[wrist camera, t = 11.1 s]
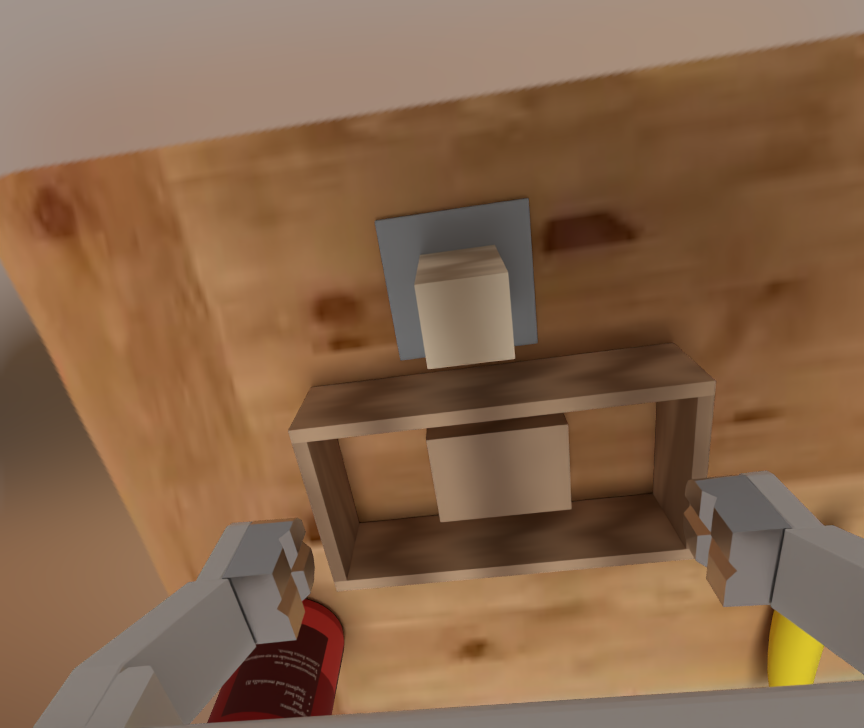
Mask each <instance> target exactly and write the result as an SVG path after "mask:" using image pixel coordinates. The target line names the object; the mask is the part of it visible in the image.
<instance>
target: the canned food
mask: <svg viewBox="0 0 864 728" xmlns="http://www.w3.org/2000/svg"><path fill="white" fill-rule="evenodd" d="M302 603H303V606H304V609H305V613H304V617H303V620H302V623H301V627H300V630H299V633H298V637H297V640H291V641H282V642H273V643H263V644H255V645H256V647H255V649H254V650H253V651H252V652H251V653H250V654H249V656H248V657H247V658H246V659H245V660H244V661H243V663H242V664H241V665H240V666H239V667H238V668H237V670H236V671H235V672H234V673H233V674H232V675H231V677H230V678H229V679H228V680H227V681H226V682H225V684H224V685H223V686H222V688H221V690H220V692H219V695H218V697H217V700H216V703H215V705H214V707H213V710H212V712H211V715H210V717H209V720H208V722H207V723H218V722H234V721H249V720H264V719H280V718H295V717H311V716H326V715H332V710H333V704H334V699H335V694H336V689H337V683H338V678H339V673H340V667H341V662H342V657H343V651H344V636H343V630H342V626H341V624H340V622H339V620H338V619H337V618H336V616H335V615H334V614H333V613H332V612H331V611H329V610H328V609H327V608H325V607H324V606H322V605H321V604H318V603H316V602H314V601H311V600H308V599H304V600H303V601H302Z"/></svg>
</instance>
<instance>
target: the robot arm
mask: <svg viewBox="0 0 864 728" xmlns="http://www.w3.org/2000/svg"><path fill="white" fill-rule="evenodd" d="M685 497H686V498H687V500H688V501H689V503H690V504H691V505H690V506H689V508H688V509H687V510H686V511H685V512H684V514H683V529H684V534H685V539H686V542H687V545H688V547H689V550H690V552H691V553H692V555H693V557H694V559H695V560H696V561H697V562H699V563H701V564H702V565H704V566H705V567H707V574H706V579H707V581H708V582H709V584H710V586H711V587H712V589H713V591H714V592H715V594H716V596H717V597H718V599H719V601H720V602H721V604H722V606H723V607H732V606H752V605H771V607H772V608H773V609H775V610H776V611H777V612H779V613H780V614H781V615H783V616H784V617H786V618H787V619H788V620H790V621H791V622H792V623H794V624H795V625H796V626H798V627H799V628H801V629H802V630H803V631H805V632H806V633H807V634H809V635H810V636H812V637H813V638H814V639H816V640H817V641H818V642H820V643H821V644H822V645H824V646H825V647H827V648H828V649H829V650H831V651H832V652H833V653H835V654H836V655H838V656H839V657H840V658H842V659H843V660H844V661H846V662H847V663H848V664H850V665H851V666H853V667H854V668H855V669H857V670H858V671H859V672H861V673H862V674H864V539H863V538H861V537H859V536H856V535H854V534H852V533H849V532H847V531H845V530H843V529H840V528H838V527H836V526H834V525H828V526H824V525H823V524H822V523H821V522H820V521H819V520H818V519H817V518H816V517H815V516H814V515H813V514H812V513H811V512H810V511H809V510H808V509H807V508H806V507H805V506H804V505H803V504H802V503H801V502H800V501H799V500H798V499H797V498H796V497H795V496H794V495H793V494H792V493H791V492H790V491H789V490H788V489H787V488H786V487H785V485H784V484H783V483H782V482H781V481H780V480H779V479H778V478H777V477H776V476H775V475H774V474H772V473H771V472H768V471H759V472H750V473H742V474H739V475H729V476H720V477H710V478H700V479H691V480H688V482H687V484H686V489H685ZM305 532H306V531H305V529H304V526H303V523H302V520H300V519H298V518H287V519H274V520H260V521H254V522H238V523H232V524H230V525H229V526H227V527H226V529H225V530H224V532H223V534H222V536H221V537H220V539H219V541H218V543H217V545H216V546H215V548H214V550H213V552H212V553H211V555H210V557H209V559H208V560H207V562H206V564H205V566H204V567H203V569H202V571H201V573H200V574H199V576H198V578H197V580H196V581H195V582H188V583H187V584H186V585H184V586H183V587H182V588H180V589H179V590H178V591H176V592H175V593H174V594H172V595H171V596H170V597H168V598H167V599H166V600H165V601H163V602H162V603H160V604H159V605H158V606H157V607H155V608H154V609H153V610H151V611H150V612H149V613H147V614H146V615H145V616H143V617H142V618H141V619H139V620H138V621H137V622H136V623H134V624H133V625H131V626H130V627H129V628H127V629H126V630H125V631H124V632H122V633H121V634H120V635H118V636H117V637H116V638H114V639H113V640H112V641H110V642H109V643H108V644H107V645H105V646H104V647H103V648H101V649H100V650H98V651H97V652H96V653H94V654H93V655H92V656H91V657H89V658H88V659H87V660H85V661H84V662H83V663H81V664H80V665H79V666H77V667H76V668H75V669H74V670H73V671H72V673H71V674H70V675H69V677H68V679H67V680H66V681H65V683H64V684H63V685H62V687H61V688H60V690H59V691H58V693H57V694H56V695H55V697H54V698H53V700H52V701H51V703H50V704H49V705H48V707H47V708H46V710H45V711H44V712H43V714H42V715H41V717H40V718H39V720H38V721H37V722H36V724H35V725H34V727H33V728H864V681H854V682H838V683H823V684H807V685H791V686H776V687H760V688H744V689H729V690H713V691H698V692H683V693H667V694H652V695H636V696H621V697H605V698H590V699H574V700H559V701H543V702H528V703H512V704H497V705H481V706H466V707H450V708H435V709H419V710H404V711H388V712H373V713H357V714H342V715H326V716H311V717H295V718H280V719H264V720H249V721H234V722H218V723H203V724H190V723H191V722H192V721H193V719H194V718H195V717H196V716H197V715H198V714H199V713H200V711H201V710H202V709H203V708H204V707H205V705H206V704H207V703H208V702H209V701H210V700H211V699H212V697H213V696H214V695H215V694H216V693H217V692H218V691H219V689H220V688H221V687H222V686H223V685H224V684H225V682H226V681H227V680H228V679H229V678H230V677H231V675H232V674H233V673H234V672H235V671H236V670H237V668H238V667H239V666H240V665H241V664H242V663H243V661H244V660H245V659H246V658H247V657H248V656H249V654H250V653H251V652H252V651H253V650H254V649H255V647H256V645H255V644H263V643H273V642H282V641H291V640H297V637H298V633H299V630H300V627H301V623H302V620H303V617H304V613H305V609H304V606H303V603H302V601H303V600H304V599H305V598H306V597H307V596H308V595H309V594H310V593H311V589H312V586H313V582H314V570H315V566H314V558H313V554H312V550H311V548H310V547H309V546H308V545H307V544H305V543H304V542H303V538H304V535H305Z"/></svg>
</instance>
